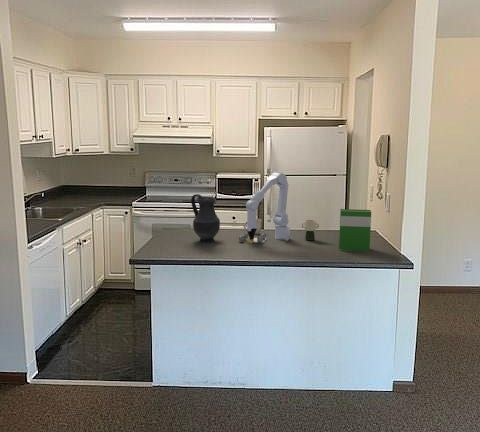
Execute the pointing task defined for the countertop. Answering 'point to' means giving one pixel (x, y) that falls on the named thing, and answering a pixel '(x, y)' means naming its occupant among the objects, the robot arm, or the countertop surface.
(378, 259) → the countertop surface
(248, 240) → the faceted gold polyhedron
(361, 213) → the green cereal box
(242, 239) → the spacers
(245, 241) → the plate
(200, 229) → the pitcher
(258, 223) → the mug
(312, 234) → the character mug
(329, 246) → the countertop surface
